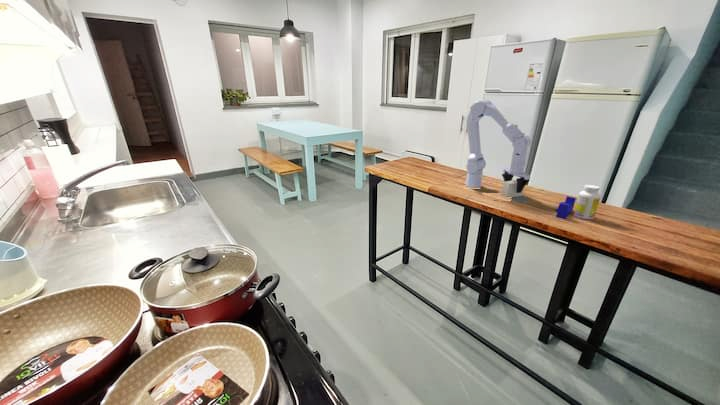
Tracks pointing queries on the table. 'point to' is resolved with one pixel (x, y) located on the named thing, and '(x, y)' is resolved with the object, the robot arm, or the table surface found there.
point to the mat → (520, 199)
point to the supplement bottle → (587, 202)
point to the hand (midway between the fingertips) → (512, 190)
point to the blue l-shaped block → (565, 207)
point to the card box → (510, 189)
